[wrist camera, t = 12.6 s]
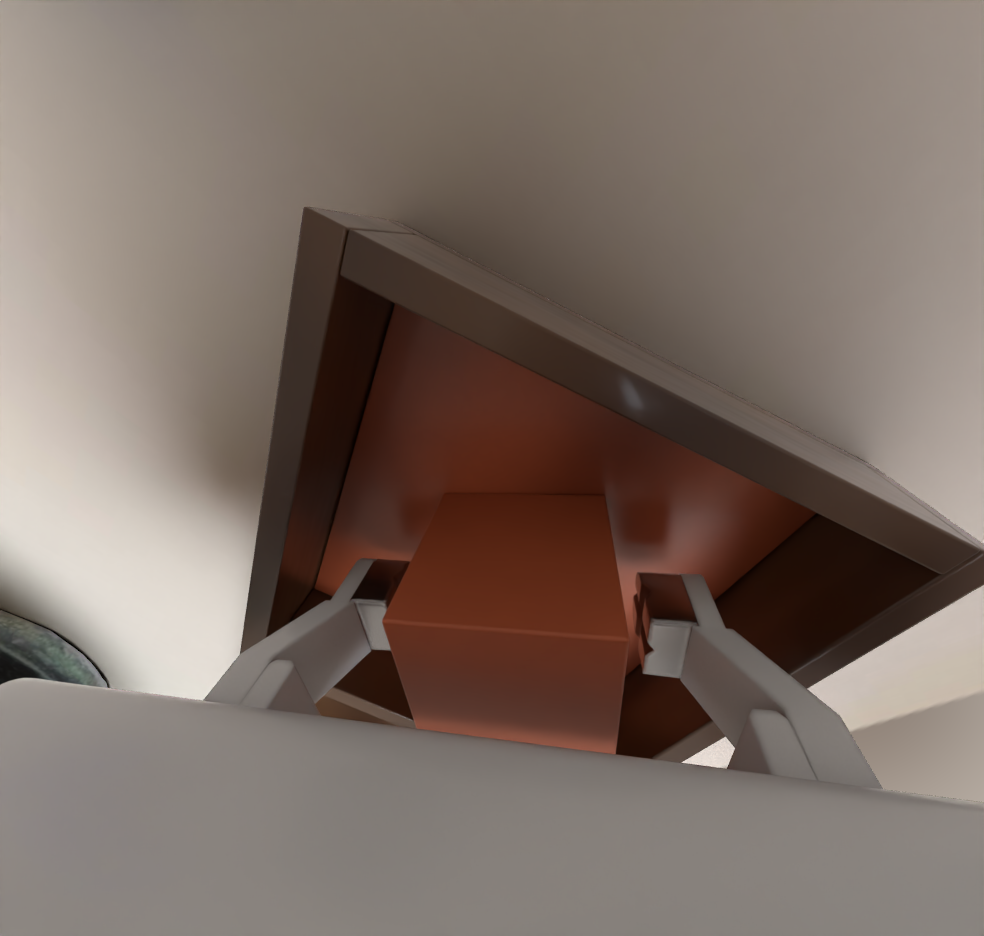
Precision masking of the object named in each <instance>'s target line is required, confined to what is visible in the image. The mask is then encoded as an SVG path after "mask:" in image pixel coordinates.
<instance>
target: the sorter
mask: <svg viewBox="0 0 984 936" xmlns="http://www.w3.org/2000/svg"><path fill="white" fill-rule="evenodd" d="M445 493H470V494H547V495H604V496H605V497H606V501H607V507H608V513H609V519H610V525H611V531H612V537H613V543H614V549H615V555H616V561H617V567H618V573H619V579H620V585H621V591H622V597H623V603H624V609H625V615H626V621H627V627H628V633H629V639H630V640H629V649H628V657H627V665H626V673H625V681H624V690H623V698H622V706H621V714H620V722H619V731H618V739H617V747H616V755H624V756H632V757H640V758H647V759H655V760H663V761H670V762H678V763H681V762H683V761H684V760H686V759H688V758H690V757H691V756H693V755H695V754H696V753H698V752H700V751H701V750H703V749H705V748H707V747H708V746H710V745H712V744H713V743H715V742H717V741H719V740H720V739H722V738H724V737H725V735H724V734H723V732H722V731H721V730H720V729H719V727H718V726H717V725H716V724H715V723H714V721H713V720H712V719H711V718H710V716H709V715H708V714H707V713H706V711H705V710H704V709H703V708H702V706H701V705H700V704H699V703H698V701H697V700H696V699H695V698H694V697H693V695H692V694H691V693H690V692H689V690H688V689H687V688H686V687H685V685H684V684H683V683H682V682H681V680H680V678H675V677H666V676H658V675H650V674H643V672H642V667H641V662H640V657H639V652H638V645H639V637H638V636H637V635H636V634H635V630H634V623H633V596H634V595H635V594H636V593H637V591H636V586H635V580H636V575H637V572H650V573H675V574H701V575H702V576H703V577H704V579H705V581H706V584H707V586H708V588H709V590H710V593H711V595H712V597H713V600H714V602H715V604H716V607H717V609H718V611H719V614H720V616H721V618H722V621H723V623H724V625H725V628H727V629H733V630H735V631H736V632H737V633H738V634H740V635H741V636H742V637H743V638H744V639H746V640H747V641H748V642H749V643H751V644H752V645H753V646H754V647H756V648H757V649H758V650H759V651H761V652H762V653H763V654H764V655H765V656H767V657H768V658H769V659H770V660H772V661H773V662H774V663H775V664H777V665H778V666H779V667H780V668H781V669H783V670H784V671H785V672H786V673H788V674H789V675H790V676H791V677H793V678H794V679H795V680H796V681H798V682H799V683H800V684H801V685H802V686H804V687H805V688H806V689H807V688H809V687H810V686H812V685H814V684H816V683H817V682H819V681H821V680H822V679H824V678H826V677H827V676H829V675H831V674H833V673H834V672H836V671H838V670H839V669H841V668H843V667H845V666H846V665H848V664H850V663H851V662H853V661H855V660H856V659H858V658H860V657H862V656H863V655H865V654H867V653H868V652H870V651H872V650H873V649H875V648H877V647H879V646H880V645H882V644H884V643H885V642H887V641H889V640H890V639H892V638H894V637H896V636H897V635H899V634H901V633H902V632H904V631H906V630H908V629H909V628H911V627H913V626H914V625H916V624H918V623H919V622H921V621H923V620H925V619H926V618H928V617H930V616H931V615H933V614H935V613H936V612H938V611H940V610H942V609H943V608H945V607H947V606H948V605H950V604H952V603H953V602H955V601H957V600H959V599H960V598H962V597H964V596H965V595H967V594H969V593H971V592H972V591H974V590H976V589H977V588H979V587H981V586H982V585H984V544H982V543H981V542H980V541H978V540H977V539H975V538H974V537H973V536H971V535H970V534H968V533H967V532H965V531H964V530H963V529H961V528H960V527H958V526H957V525H956V524H954V523H953V522H951V521H950V520H949V519H947V518H946V517H944V516H943V515H941V514H940V513H939V512H937V511H936V510H934V509H933V508H932V507H930V506H929V505H927V504H926V503H925V502H923V501H922V500H920V499H919V498H917V497H916V496H915V495H913V494H912V493H910V492H909V491H908V490H906V489H905V488H903V487H902V486H901V485H899V484H898V483H896V482H895V481H893V480H892V479H891V478H889V477H887V476H886V475H885V474H884V473H882V472H881V471H879V470H878V469H877V468H875V467H874V466H872V465H870V464H868V463H866V462H864V461H863V460H861V459H859V458H857V457H855V456H853V455H851V454H849V453H847V452H845V451H843V450H841V449H839V448H837V447H835V446H833V445H831V444H829V443H828V442H826V441H824V440H822V439H820V438H818V437H816V436H814V435H812V434H810V433H808V432H806V431H804V430H802V429H800V428H798V427H796V426H794V425H792V424H791V423H789V422H787V421H785V420H783V419H781V418H779V417H777V416H775V415H773V414H771V413H769V412H767V411H765V410H763V409H761V408H759V407H757V406H755V405H754V404H752V403H750V402H748V401H746V400H744V399H742V398H740V397H738V396H736V395H734V394H732V393H730V392H728V391H726V390H724V389H722V388H720V387H719V386H717V385H715V384H713V383H711V382H709V381H707V380H705V379H703V378H701V377H699V376H697V375H695V374H693V373H691V372H689V371H687V370H685V369H683V368H682V367H680V366H678V365H676V364H674V363H672V362H670V361H668V360H666V359H664V358H662V357H660V356H658V355H656V354H654V353H652V352H650V351H648V350H646V349H645V348H643V347H641V346H639V345H637V344H635V343H633V342H631V341H629V340H627V339H625V338H623V337H621V336H619V335H617V334H615V333H613V332H611V331H610V330H608V329H606V328H604V327H602V326H600V325H598V324H596V323H594V322H592V321H590V320H588V319H586V318H584V317H582V316H580V315H578V314H576V313H574V312H573V311H571V310H569V309H567V308H565V307H563V306H561V305H559V304H557V303H555V302H553V301H551V300H549V299H547V298H545V297H543V296H541V295H539V294H537V293H536V292H534V291H532V290H530V289H528V288H526V287H524V286H522V285H520V284H518V283H516V282H514V281H512V280H510V279H508V278H506V277H504V276H502V275H500V274H499V273H497V272H495V271H493V270H491V269H489V268H487V267H485V266H483V265H481V264H479V263H477V262H475V261H473V260H471V259H469V258H467V257H465V256H464V255H462V254H460V253H458V252H456V251H454V250H452V249H450V248H448V247H446V246H444V245H442V244H440V243H438V242H436V241H434V240H432V239H430V238H428V237H427V236H425V235H423V234H421V233H419V232H417V231H415V230H413V229H411V228H409V227H407V226H405V225H403V224H401V223H399V222H397V221H392V220H386V219H381V218H375V217H369V216H362V215H356V214H350V213H343V212H337V211H331V210H324V209H318V208H312V207H304V209H303V215H302V222H301V229H300V236H299V243H298V250H297V257H296V264H295V271H294V278H293V285H292V292H291V299H290V306H289V313H288V320H287V327H286V334H285V341H284V348H283V356H282V363H281V370H280V377H279V384H278V391H277V398H276V405H275V412H274V419H273V426H272V433H271V440H270V447H269V454H268V461H267V468H266V475H265V482H264V489H263V496H262V503H261V510H260V517H259V524H258V531H257V538H256V545H255V552H254V559H253V566H252V573H251V580H250V587H249V594H248V601H247V609H246V616H245V623H244V630H243V637H242V644H241V651H240V654H241V653H243V652H244V651H246V650H247V649H249V648H250V647H252V646H254V645H255V644H257V643H258V642H260V641H262V640H263V639H265V638H266V637H268V636H270V635H271V634H273V633H274V632H276V631H277V630H279V629H281V628H282V627H284V626H285V625H287V624H289V623H290V622H292V621H293V620H295V619H297V618H298V617H300V616H301V615H303V614H304V613H306V612H308V611H309V610H311V609H312V608H314V607H316V606H317V605H319V604H320V603H322V602H324V601H325V600H331V599H332V597H333V596H334V594H335V593H336V591H337V590H338V588H339V587H340V585H341V584H342V582H343V581H344V579H345V578H346V576H347V575H348V573H349V572H350V570H351V569H352V567H353V566H354V565H355V563H356V562H357V561H358V560H359V559H361V558H368V559H387V560H400V561H410V562H411V560H412V558H413V556H414V554H415V552H416V550H417V548H418V546H419V544H420V541H421V539H422V537H423V535H424V533H425V531H426V529H427V527H428V525H429V523H430V521H431V519H432V517H433V515H434V513H435V511H436V509H437V507H438V505H439V503H440V501H441V499H442V497H443V495H444V494H445ZM315 705H316V707H317V709H318V711H319V713H320V714H321V716H325V717H332V718H340V719H348V720H355V721H363V722H370V723H378V724H386V725H393V726H401V727H409V728H416V725H415V722H414V719H413V716H412V713H411V710H410V707H409V704H408V701H407V698H406V695H405V692H404V689H403V685H402V682H401V679H400V676H399V673H398V670H397V667H396V664H395V661H394V658H393V655H392V652H391V650H375V649H371V652H369V653H368V654H367V655H366V656H365V657H364V658H363V659H362V660H361V661H360V662H359V663H358V664H357V665H356V666H355V667H354V668H353V669H351V670H350V671H349V672H348V673H347V674H346V675H345V676H344V677H343V678H342V679H341V680H340V681H339V682H338V683H337V684H336V685H335V686H333V687H332V688H331V689H330V690H329V691H328V692H327V693H326V694H325V695H324V696H323V697H322V698H321V699H320V700H319V701H318V702H316V703H315ZM416 729H417V728H416Z"/></svg>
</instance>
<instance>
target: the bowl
mask: <svg viewBox="0 0 984 936" xmlns="http://www.w3.org/2000/svg"><path fill="white" fill-rule="evenodd" d="M20 678H38V679H44V680H51V681H58V682H65V683H73V684H81V685H88V686H96V687H103V688H107V684H106V681H104V680H103V679H102V677H101V675H100V674H99V672H98V671H97V670H96V668H95V667H94V666H93V665H92V663H91V662H90V661H89V660H88V659H87V658H86V657H85V656H84V655H83V654H82V653H80V652H79V651H78V650H76V649H75V648H74V647H72V646H71V645H70V644H68V643H67V642H66V641H64V640H63V639H61V638H60V637H59V636H57V635H56V634H54V633H53V632H52V631H50V630H48V629H46V628H43V627H41V626H39V625H36V624H34V623H32V622H29V621H27V620H25V619H22V618H20V617H17V616H14V615H12V614H9V613H7V612H4V611H2V610H0V685H1V684H3V683H5V682H8V681H11V680H15V679H20Z"/></svg>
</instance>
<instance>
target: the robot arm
mask: <svg viewBox="0 0 984 936" xmlns="http://www.w3.org/2000/svg"><path fill="white" fill-rule="evenodd" d="M409 564H410V561H400V560H387V559H368V558H361V559H359V560H358V561H357V562H356V563H355V565H354V566H353V567H352V569H351V570H350V572H349V573H348V575H347V576H346V578H345V579H344V581H343V582H342V584H341V585H340V587H339V588H338V590H337V591H336V593H335V594H334V596H333V597H332V599H331V600H325V601H324V602H322V603H320V604H319V605H317V606H316V607H314V608H312V609H311V610H309V611H308V612H306V613H304V614H303V615H301V616H300V617H298V618H297V619H295V620H293V621H292V622H290V623H289V624H287V625H285V626H284V627H282V628H281V629H279V630H277V631H276V632H274V633H273V634H271V635H270V636H268V637H266V638H265V639H263V640H262V641H260V642H258V643H257V644H255V645H254V646H252V647H250V648H249V649H247V650H246V651H244V652H243V653H241V654H240V655H239V656H238V658H237V659H236V660H235V661H234V663H233V664H232V665H231V666H230V668H229V669H228V670H227V671H226V673H225V674H224V675H223V676H222V677H221V679H220V680H219V681H218V682H217V684H216V685H215V686H214V687H213V689H212V690H211V691H210V692H209V694H208V695H207V696H206V697H205V699H204V700H203V701H202V700H195V699H187V698H180V697H172V696H164V695H157V694H149V693H142V692H134V691H126V690H119V689H111V688H103V687H96V686H88V685H81V684H73V683H65V682H58V681H51V680H44V679H38V678H20V679H15V680H11V681H8V682H5V683H3V684H1V685H0V936H984V802H977V801H969V800H961V799H954V798H946V797H938V796H931V795H923V794H916V793H907V792H900V791H893V790H884V789H883V788H882V786H881V785H880V783H879V781H878V780H877V778H876V776H875V774H874V773H873V771H872V769H871V768H870V766H869V764H868V763H867V761H866V759H865V757H864V756H863V754H862V752H861V751H860V749H859V747H858V746H857V744H856V742H855V740H854V739H853V737H852V735H851V734H850V732H849V730H848V728H847V727H846V725H845V723H844V722H843V720H842V718H841V717H840V716H839V715H838V714H837V713H836V712H835V711H833V710H832V709H831V708H830V707H828V706H827V705H826V704H825V703H823V702H822V701H821V700H820V699H818V698H817V697H816V696H815V695H814V694H812V693H811V692H810V691H809V690H807V689H806V688H805V687H804V686H802V685H801V684H800V683H799V682H798V681H796V680H795V679H794V678H793V677H791V676H790V675H789V674H788V673H786V672H785V671H784V670H783V669H781V668H780V667H779V666H778V665H777V664H775V663H774V662H773V661H772V660H770V659H769V658H768V657H767V656H765V655H764V654H763V653H762V652H761V651H759V650H758V649H757V648H756V647H754V646H753V645H752V644H751V643H749V642H748V641H747V640H746V639H744V638H743V637H742V636H741V635H740V634H738V633H737V632H736V631H735V630H733V629H727V628H725V625H724V623H723V621H722V618H721V616H720V614H719V611H718V609H717V607H716V604H715V602H714V600H713V597H712V595H711V593H710V590H709V588H708V586H707V584H706V581H705V579H704V577H703V576H702V575H701V574H675V573H650V572H637V575H636V580H635V586H636V591H637V593H636V594H635V595H634V596H633V623H634V630H635V634H636V635H637V636H638V637H639V645H638V652H639V657H640V662H641V667H642V672H643V674H650V675H658V676H666V677H675V678H680V680H681V682H682V683H683V684H684V685H685V687H686V688H687V689H688V690H689V692H690V693H691V694H692V695H693V697H694V698H695V699H696V700H697V701H698V703H699V704H700V705H701V706H702V708H703V709H704V710H705V711H706V713H707V714H708V715H709V716H710V718H711V719H712V720H713V721H714V723H715V724H716V725H717V726H718V727H719V729H720V730H721V731H722V732H723V734H724V735H725V736H726V737H727V739H728V740H729V741H730V742H731V744H732V745H733V746H734V747H735V750H734V753H733V755H732V758H731V760H730V762H729V765H728V767H727V769H724V768H716V767H709V766H701V765H693V764H686V763H678V762H670V761H663V760H655V759H647V758H640V757H632V756H624V755H616V754H609V753H601V752H593V751H586V750H578V749H570V748H563V747H555V746H547V745H540V744H532V743H524V742H517V741H509V740H501V739H493V738H486V737H478V736H470V735H463V734H455V733H447V732H440V731H432V730H424V729H416V728H409V727H401V726H393V725H386V724H378V723H370V722H363V721H355V720H348V719H340V718H332V717H325V716H321V714H320V713H319V711H318V709H317V707H316V705H315V703H316V702H318V701H319V700H320V699H321V698H322V697H323V696H324V695H325V694H326V693H327V692H328V691H329V690H330V689H331V688H332V687H333V686H335V685H336V684H337V683H338V682H339V681H340V680H341V679H342V678H343V677H344V676H345V675H346V674H347V673H348V672H349V671H350V670H351V669H353V668H354V667H355V666H356V665H357V664H358V663H359V662H360V661H361V660H362V659H363V658H364V657H365V656H366V655H367V654H368V653H369V652H371V649H375V650H391V649H390V646H389V643H388V639H387V636H386V633H385V630H384V627H383V624H382V619H383V617H384V615H385V613H386V611H387V609H388V607H389V605H390V603H391V601H392V599H393V597H394V595H395V593H396V591H397V588H398V586H399V584H400V582H401V580H402V578H403V576H404V574H405V572H406V570H407V568H408V566H409Z"/></svg>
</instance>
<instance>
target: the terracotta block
mask: <svg viewBox="0 0 984 936" xmlns="http://www.w3.org/2000/svg"><path fill="white" fill-rule="evenodd" d="M382 624H383V627H384V630H385V633H386V636H387V639H388V643H389V646H390V649H391V652H392V655H393V658H394V661H395V664H396V667H397V670H398V673H399V676H400V679H401V682H402V685H403V689H404V692H405V695H406V698H407V701H408V704H409V707H410V710H411V713H412V716H413V719H414V722H415V725H416V728H417V729H424V730H432V731H440V732H447V733H455V734H463V735H470V736H478V737H486V738H493V739H501V740H509V741H517V742H524V743H532V744H540V745H547V746H555V747H563V748H570V749H578V750H586V751H593V752H601V753H609V754H616V747H617V739H618V731H619V722H620V714H621V706H622V698H623V690H624V681H625V673H626V665H627V657H628V649H629V640H630V639H629V633H628V627H627V621H626V615H625V609H624V603H623V597H622V591H621V585H620V579H619V573H618V567H617V561H616V555H615V549H614V543H613V537H612V531H611V525H610V519H609V513H608V507H607V501H606V497H605V496H604V495H547V494H470V493H445V494H444V495H443V497H442V499H441V501H440V503H439V505H438V507H437V509H436V511H435V513H434V515H433V517H432V519H431V521H430V523H429V525H428V527H427V529H426V531H425V533H424V535H423V537H422V539H421V541H420V544H419V546H418V548H417V550H416V552H415V554H414V556H413V558H412V560H411V562H410V564H409V566H408V568H407V570H406V572H405V574H404V576H403V578H402V580H401V582H400V584H399V586H398V588H397V591H396V593H395V595H394V597H393V599H392V601H391V603H390V605H389V607H388V609H387V611H386V613H385V615H384V617H383V619H382Z"/></svg>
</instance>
